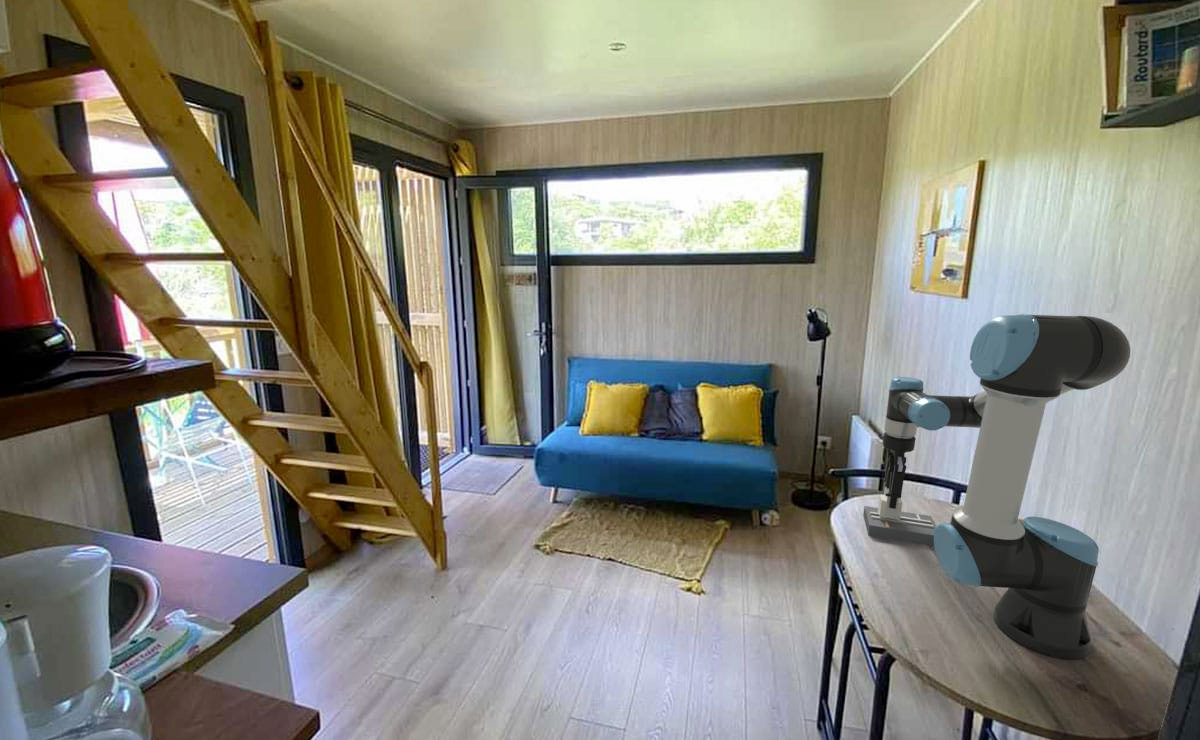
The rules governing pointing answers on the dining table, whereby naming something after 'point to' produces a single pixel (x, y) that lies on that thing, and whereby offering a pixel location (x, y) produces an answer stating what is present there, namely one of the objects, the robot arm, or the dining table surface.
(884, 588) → the dining table surface
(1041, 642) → the robot arm
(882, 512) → the fader knob
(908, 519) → the fader console
